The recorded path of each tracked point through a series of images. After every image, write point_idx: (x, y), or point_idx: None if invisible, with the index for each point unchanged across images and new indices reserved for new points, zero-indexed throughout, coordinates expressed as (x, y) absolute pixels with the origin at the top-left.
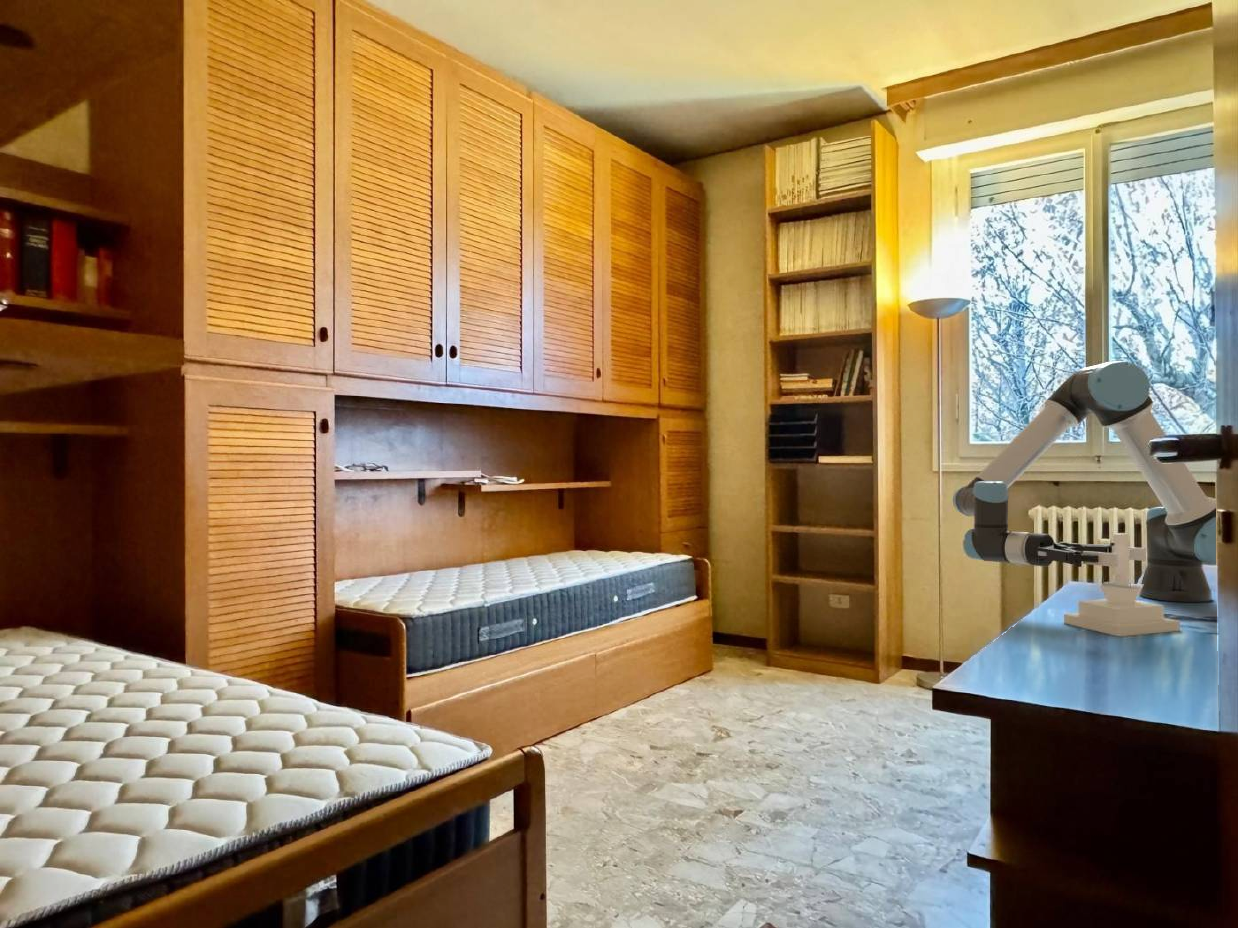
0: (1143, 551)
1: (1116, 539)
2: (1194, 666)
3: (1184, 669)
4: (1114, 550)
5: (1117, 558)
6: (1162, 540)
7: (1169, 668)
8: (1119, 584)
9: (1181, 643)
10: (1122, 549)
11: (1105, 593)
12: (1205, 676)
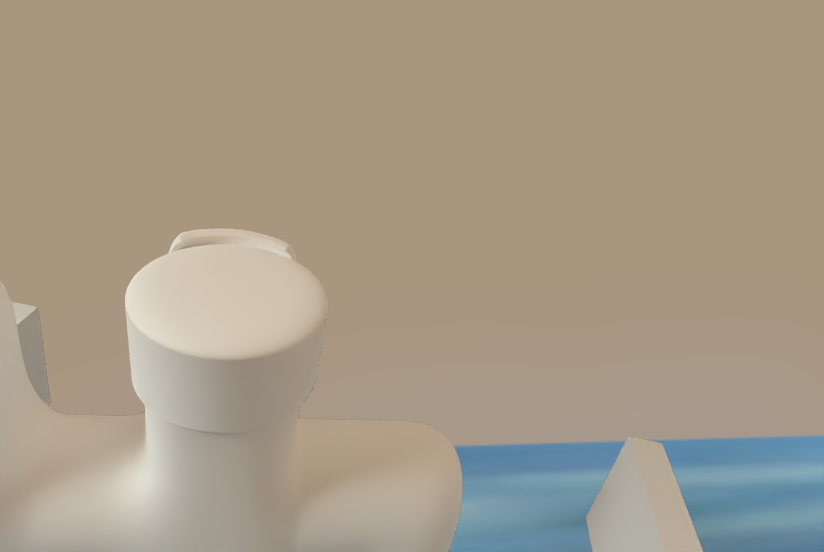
0: (33, 337)
1: (309, 377)
2: (732, 459)
3: (786, 474)
4: (269, 507)
5: (613, 468)
6: None
7: (818, 502)
8: None
9: (473, 506)
10: (297, 424)
11: None
12: (792, 439)
